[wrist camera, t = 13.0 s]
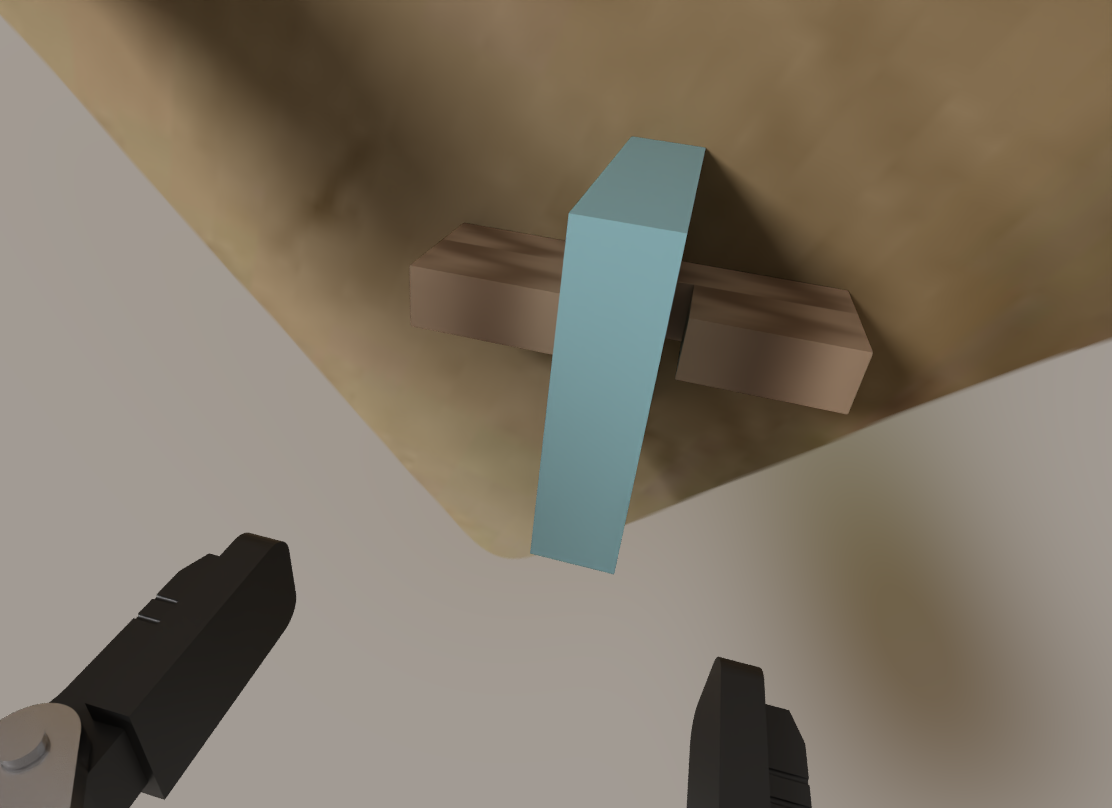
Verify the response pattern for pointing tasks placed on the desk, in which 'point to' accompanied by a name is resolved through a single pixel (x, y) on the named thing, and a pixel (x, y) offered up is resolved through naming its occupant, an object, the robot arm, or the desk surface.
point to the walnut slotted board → (695, 319)
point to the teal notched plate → (610, 346)
